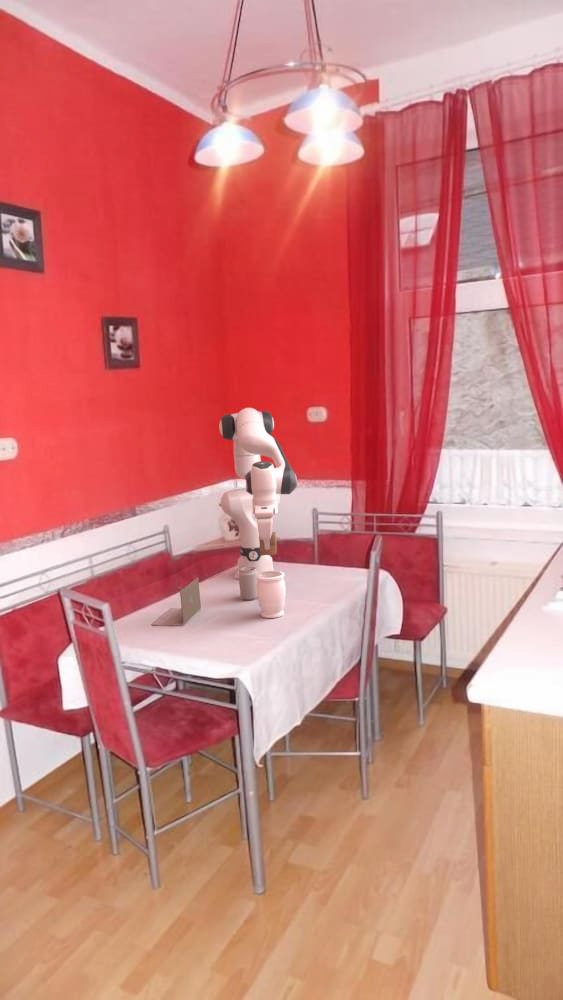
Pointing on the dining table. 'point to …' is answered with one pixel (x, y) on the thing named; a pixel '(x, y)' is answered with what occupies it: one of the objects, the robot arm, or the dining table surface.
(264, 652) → the dining table surface
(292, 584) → the dining table surface
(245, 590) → the can
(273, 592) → the jar
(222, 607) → the dining table surface
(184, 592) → the laptop
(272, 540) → the walnut block
